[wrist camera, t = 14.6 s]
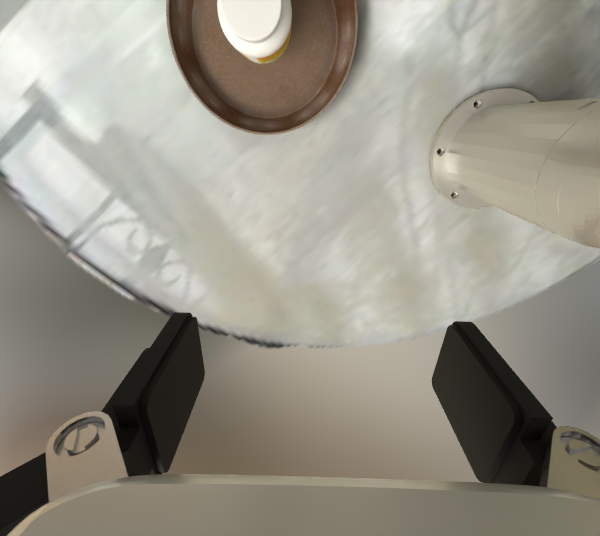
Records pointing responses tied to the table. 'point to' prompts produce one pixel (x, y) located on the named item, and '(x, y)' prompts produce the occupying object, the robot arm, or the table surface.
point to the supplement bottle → (257, 27)
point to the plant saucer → (265, 77)
